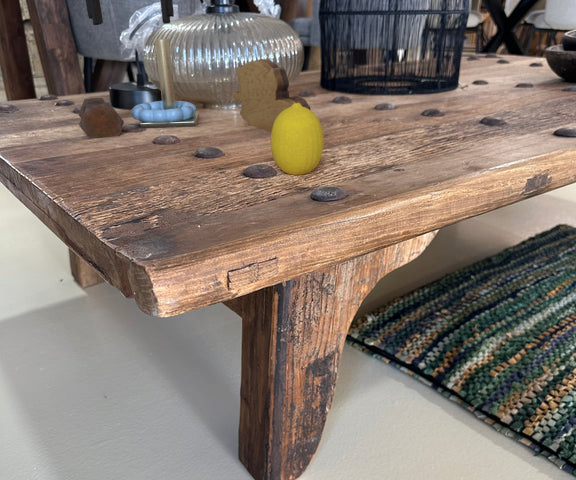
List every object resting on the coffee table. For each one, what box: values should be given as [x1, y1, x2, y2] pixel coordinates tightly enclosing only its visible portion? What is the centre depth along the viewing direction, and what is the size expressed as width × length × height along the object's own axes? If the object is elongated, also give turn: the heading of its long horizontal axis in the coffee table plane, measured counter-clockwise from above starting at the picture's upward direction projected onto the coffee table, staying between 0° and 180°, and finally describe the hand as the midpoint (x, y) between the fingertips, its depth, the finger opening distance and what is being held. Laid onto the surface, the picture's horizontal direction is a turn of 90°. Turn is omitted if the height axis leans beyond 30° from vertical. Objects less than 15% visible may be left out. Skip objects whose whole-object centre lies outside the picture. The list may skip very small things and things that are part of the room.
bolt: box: [78, 97, 125, 140], centre depth 83 cm, size 6×5×15 cm
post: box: [139, 38, 200, 129], centre depth 85 cm, size 8×8×12 cm
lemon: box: [270, 103, 325, 176], centre depth 59 cm, size 6×6×8 cm
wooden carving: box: [232, 58, 312, 133], centre depth 78 cm, size 16×5×10 cm, turn 39°
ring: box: [130, 100, 197, 123], centre depth 87 cm, size 10×10×2 cm
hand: (132, 23), depth 81 cm, fingers open, 9 cm apart
